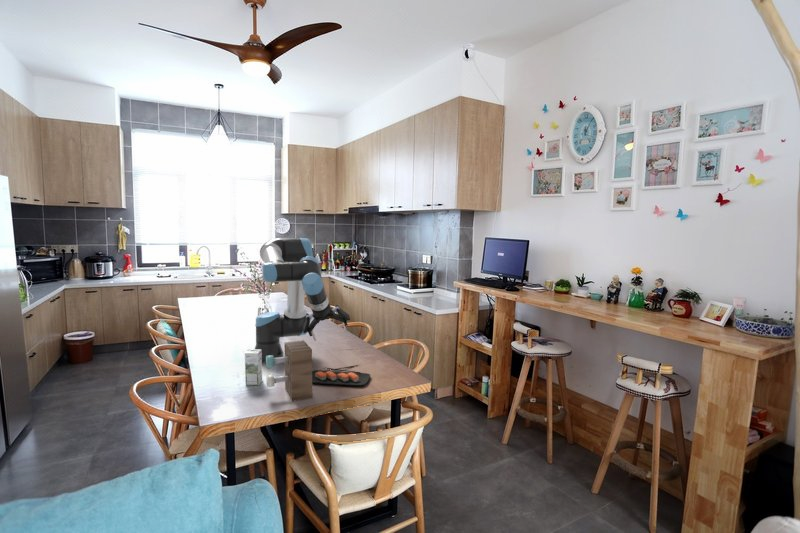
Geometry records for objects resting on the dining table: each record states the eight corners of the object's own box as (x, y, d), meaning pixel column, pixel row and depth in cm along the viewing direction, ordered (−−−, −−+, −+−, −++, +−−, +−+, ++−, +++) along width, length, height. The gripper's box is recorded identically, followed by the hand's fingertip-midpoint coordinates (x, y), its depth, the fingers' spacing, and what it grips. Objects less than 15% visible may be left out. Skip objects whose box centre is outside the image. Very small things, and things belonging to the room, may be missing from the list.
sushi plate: (299, 385, 181) (299, 376, 180) (321, 363, 210) (321, 355, 210) (365, 389, 177) (365, 380, 176) (378, 366, 206) (378, 358, 206)
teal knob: (266, 365, 166) (265, 354, 165) (291, 362, 170) (291, 351, 170) (267, 369, 162) (267, 357, 161) (294, 365, 166) (294, 354, 166)
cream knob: (266, 384, 167) (266, 373, 166) (292, 381, 171) (291, 370, 171) (268, 389, 163) (268, 377, 162) (294, 384, 167) (294, 373, 167)
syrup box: (262, 380, 184) (262, 348, 182) (258, 385, 178) (257, 352, 177) (249, 380, 184) (248, 348, 182) (245, 385, 178) (244, 352, 176)
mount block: (285, 388, 175) (284, 342, 173) (304, 385, 178) (303, 340, 176) (292, 401, 162) (291, 351, 160) (312, 398, 166) (311, 349, 164)
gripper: (290, 320, 163) (303, 349, 178) (351, 302, 166) (359, 332, 182) (288, 305, 168) (301, 335, 183) (348, 289, 171) (355, 319, 187)
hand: (330, 334), depth 183 cm, fingers open, 13 cm apart
